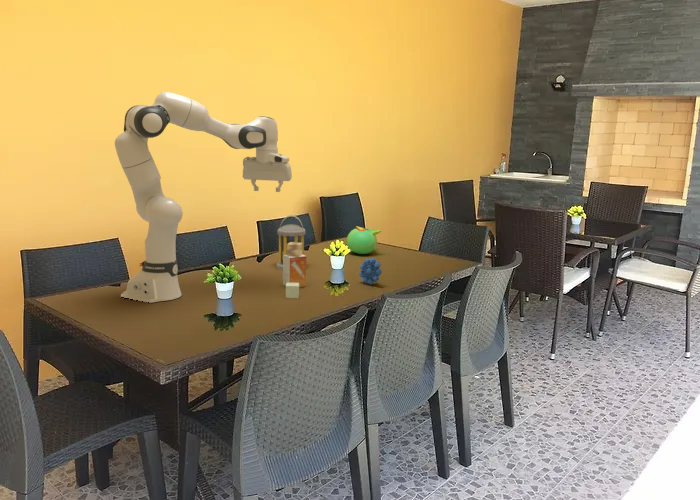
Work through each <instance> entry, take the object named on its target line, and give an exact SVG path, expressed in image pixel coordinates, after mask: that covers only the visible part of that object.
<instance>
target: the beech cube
mask: <svg viewBox="0 0 700 500" xmlns="http://www.w3.org/2000/svg"><path fill="white" fill-rule="evenodd" d="M301 255H302V243H301V242H299V243H297V242H290V243H288V244H287V256H293V257H299V256H301Z"/></svg>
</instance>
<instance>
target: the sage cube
mask: <svg viewBox="0 0 700 500" xmlns="http://www.w3.org/2000/svg"><path fill="white" fill-rule="evenodd" d="M299 297H300V287H299V283H286V286H285V299H299Z"/></svg>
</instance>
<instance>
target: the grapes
mask: <svg viewBox="0 0 700 500" xmlns="http://www.w3.org/2000/svg"><path fill="white" fill-rule="evenodd" d="M359 270H360V271H359V277H360V278H362V279H361V281H362V283H364V284H368V285H369V286H372V285H373V284H374V283H377V282H379V280H380V276H381V275H382V270H383V269H381V262H379V261H377V259H376V258H375V257H371V258H366V259H364V260H363V263H361V264H360V265H359Z"/></svg>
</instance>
